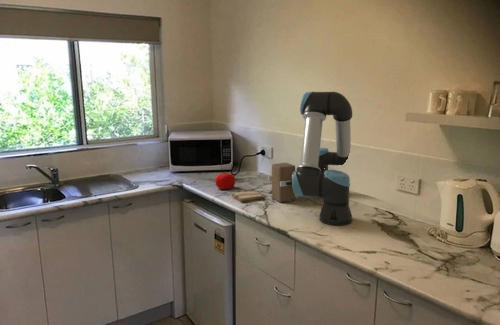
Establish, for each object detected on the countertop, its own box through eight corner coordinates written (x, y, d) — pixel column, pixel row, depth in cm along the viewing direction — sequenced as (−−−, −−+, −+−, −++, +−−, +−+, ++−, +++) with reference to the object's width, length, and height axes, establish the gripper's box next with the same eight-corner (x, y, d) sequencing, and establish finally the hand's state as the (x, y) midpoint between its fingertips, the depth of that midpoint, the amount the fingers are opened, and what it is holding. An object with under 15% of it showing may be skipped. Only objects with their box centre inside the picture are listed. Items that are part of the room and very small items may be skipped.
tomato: (238, 189, 237) (237, 173, 235) (218, 191, 233) (217, 175, 231) (232, 185, 248) (231, 169, 246) (212, 187, 243) (212, 171, 241)
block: (279, 203, 210) (279, 167, 205) (271, 198, 218) (271, 163, 214) (295, 200, 213) (296, 165, 209) (286, 196, 222) (286, 162, 218)
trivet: (264, 199, 216) (264, 196, 216) (241, 203, 211) (241, 199, 210) (253, 193, 229) (253, 189, 228) (232, 196, 223) (231, 193, 223)
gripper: (319, 188, 211) (285, 193, 202) (295, 178, 233) (263, 182, 224) (319, 175, 209) (285, 179, 201) (295, 166, 231) (263, 170, 223)
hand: (274, 181), depth 212 cm, fingers open, 13 cm apart
